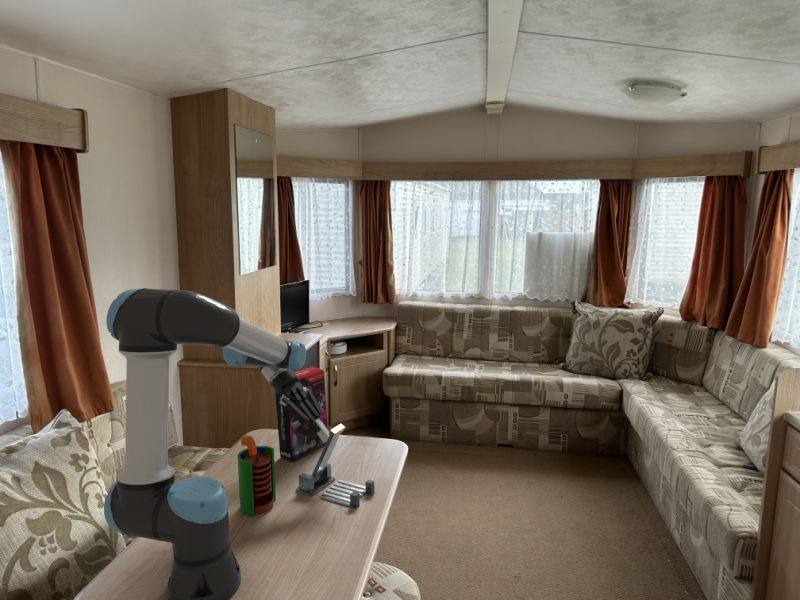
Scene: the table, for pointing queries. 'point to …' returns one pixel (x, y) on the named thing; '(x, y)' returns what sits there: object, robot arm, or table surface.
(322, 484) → the bracket
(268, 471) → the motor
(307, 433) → the graphics card box
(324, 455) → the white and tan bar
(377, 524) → the table surface
